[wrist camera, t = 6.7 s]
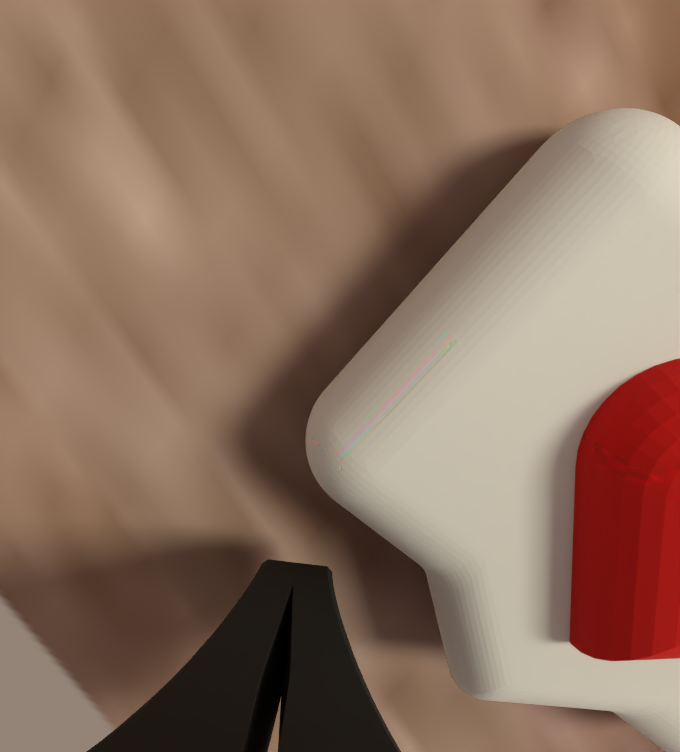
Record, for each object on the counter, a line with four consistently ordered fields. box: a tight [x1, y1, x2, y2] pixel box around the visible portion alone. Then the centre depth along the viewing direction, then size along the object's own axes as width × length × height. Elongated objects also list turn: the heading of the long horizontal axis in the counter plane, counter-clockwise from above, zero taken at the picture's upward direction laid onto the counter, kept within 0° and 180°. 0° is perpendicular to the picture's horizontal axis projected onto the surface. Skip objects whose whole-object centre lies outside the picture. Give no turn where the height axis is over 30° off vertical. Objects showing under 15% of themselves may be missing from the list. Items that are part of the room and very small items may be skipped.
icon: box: [305, 108, 680, 752], centre depth 10 cm, size 12×4×10 cm
